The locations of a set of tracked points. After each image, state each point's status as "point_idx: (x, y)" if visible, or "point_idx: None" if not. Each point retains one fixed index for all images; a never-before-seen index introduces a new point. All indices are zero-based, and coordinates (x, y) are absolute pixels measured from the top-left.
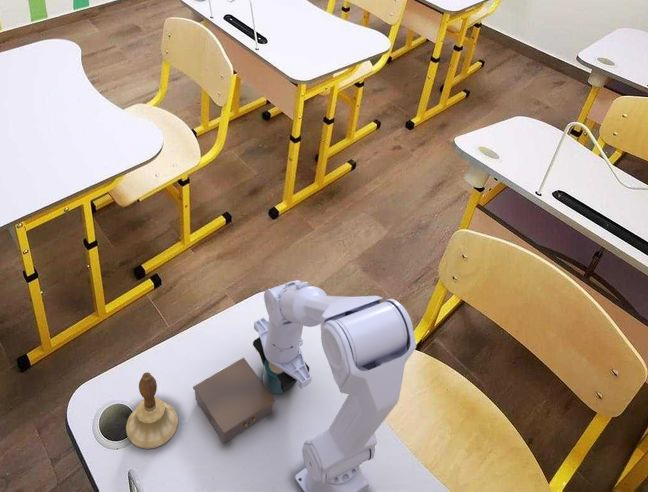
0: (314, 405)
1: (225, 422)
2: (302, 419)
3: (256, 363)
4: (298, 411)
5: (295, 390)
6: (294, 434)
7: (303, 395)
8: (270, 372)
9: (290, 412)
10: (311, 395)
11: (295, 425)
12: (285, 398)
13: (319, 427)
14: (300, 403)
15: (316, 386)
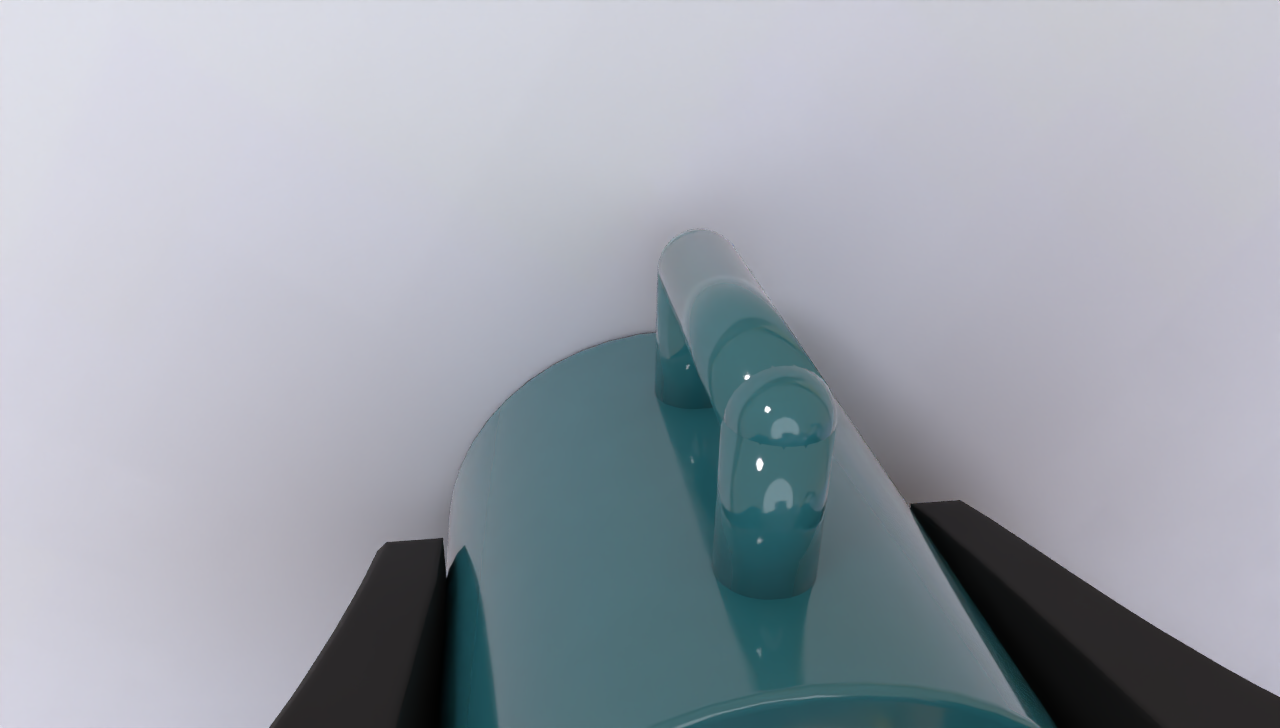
0: (1273, 304)
1: None
2: (1252, 511)
3: (270, 624)
4: (1157, 502)
5: (940, 397)
6: (1276, 644)
7: (1070, 347)
8: None
9: (1092, 576)
10: (1155, 256)
11: (1229, 598)
12: None
13: None
14: (1111, 435)
15: (1126, 104)
